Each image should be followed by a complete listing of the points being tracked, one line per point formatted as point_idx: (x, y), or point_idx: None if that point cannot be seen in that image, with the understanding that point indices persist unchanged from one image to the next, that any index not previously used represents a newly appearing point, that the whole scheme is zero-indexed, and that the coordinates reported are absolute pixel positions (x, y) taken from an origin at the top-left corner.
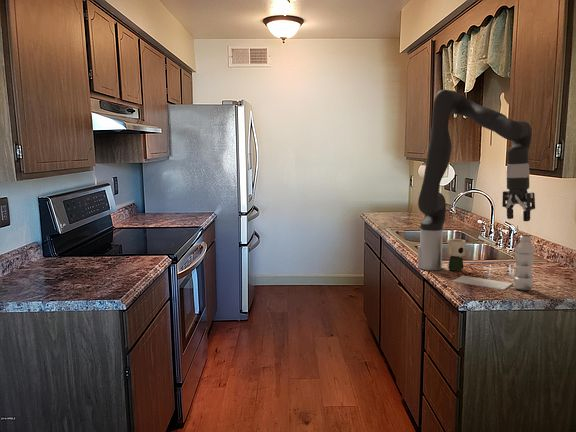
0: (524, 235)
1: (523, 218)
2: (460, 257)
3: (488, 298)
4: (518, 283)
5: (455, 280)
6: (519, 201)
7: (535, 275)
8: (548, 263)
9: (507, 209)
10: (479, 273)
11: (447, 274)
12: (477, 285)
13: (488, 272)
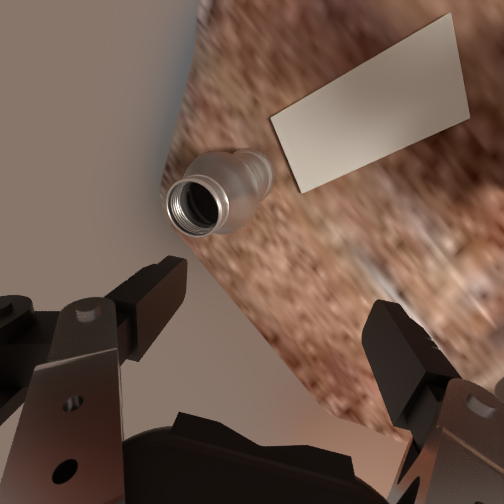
0: (216, 226)
1: (173, 263)
2: None
3: None
4: (241, 149)
5: (443, 26)
6: (57, 432)
7: (328, 312)
8: (380, 416)
9: (443, 373)
10: (447, 207)
11: None
12: (349, 72)
13: (433, 241)
